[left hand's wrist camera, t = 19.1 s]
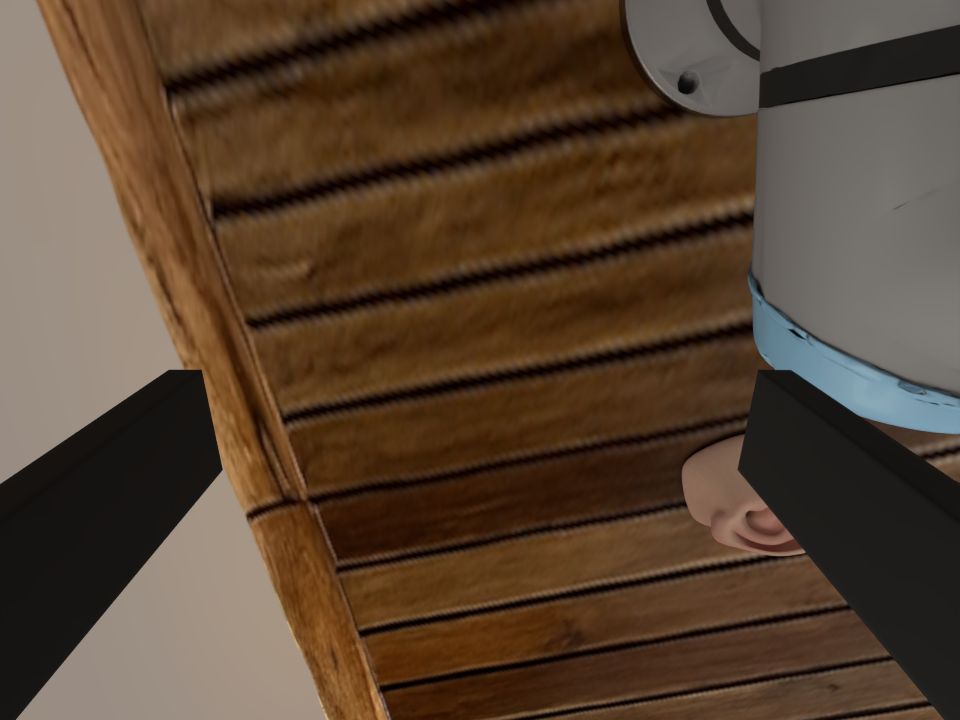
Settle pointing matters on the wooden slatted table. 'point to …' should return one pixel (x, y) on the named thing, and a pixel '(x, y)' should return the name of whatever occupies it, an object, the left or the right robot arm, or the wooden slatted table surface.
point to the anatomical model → (732, 502)
